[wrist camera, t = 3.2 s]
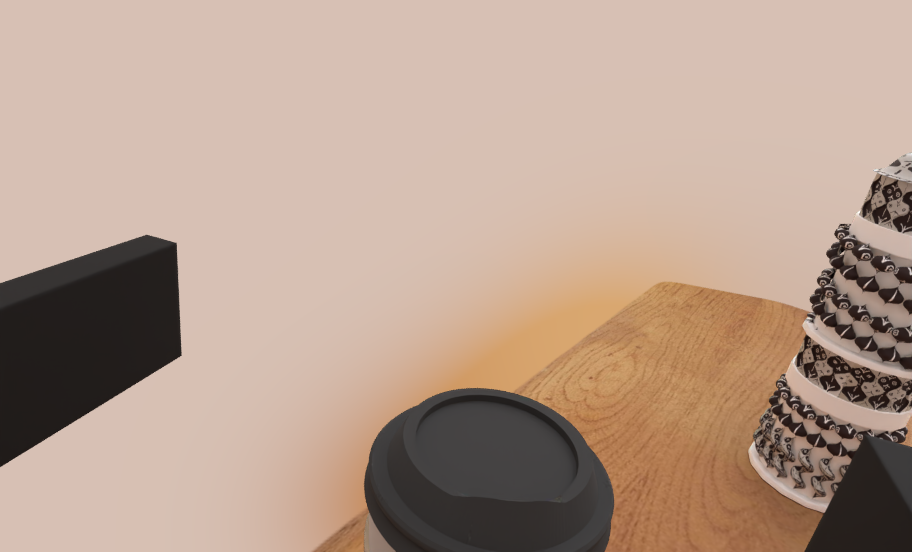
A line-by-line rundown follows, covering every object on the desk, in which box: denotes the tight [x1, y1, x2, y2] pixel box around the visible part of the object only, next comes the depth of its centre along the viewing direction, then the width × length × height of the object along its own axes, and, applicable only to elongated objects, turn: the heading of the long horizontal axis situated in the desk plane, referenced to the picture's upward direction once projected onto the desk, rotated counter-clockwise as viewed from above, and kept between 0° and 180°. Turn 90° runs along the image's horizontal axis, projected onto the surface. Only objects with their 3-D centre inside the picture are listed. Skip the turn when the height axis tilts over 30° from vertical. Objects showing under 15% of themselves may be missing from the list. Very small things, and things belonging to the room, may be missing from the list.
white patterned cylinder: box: [748, 153, 912, 513], centre depth 40 cm, size 9×9×25 cm
